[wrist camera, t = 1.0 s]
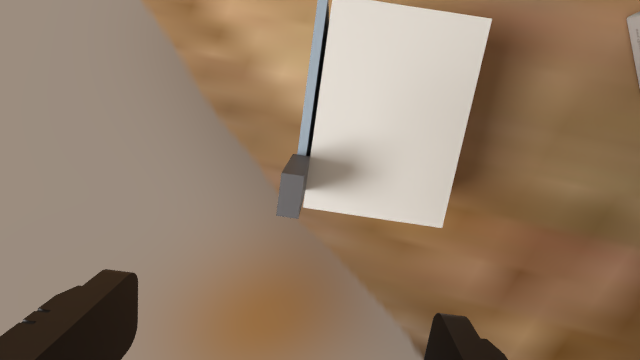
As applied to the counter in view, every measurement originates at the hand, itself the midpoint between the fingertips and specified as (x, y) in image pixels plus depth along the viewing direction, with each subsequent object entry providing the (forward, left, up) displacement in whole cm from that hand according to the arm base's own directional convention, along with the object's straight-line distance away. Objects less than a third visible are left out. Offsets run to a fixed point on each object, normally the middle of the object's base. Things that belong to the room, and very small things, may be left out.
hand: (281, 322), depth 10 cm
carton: (-5, +5, -26) cm, 27 cm away
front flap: (-5, -1, -26) cm, 27 cm away
